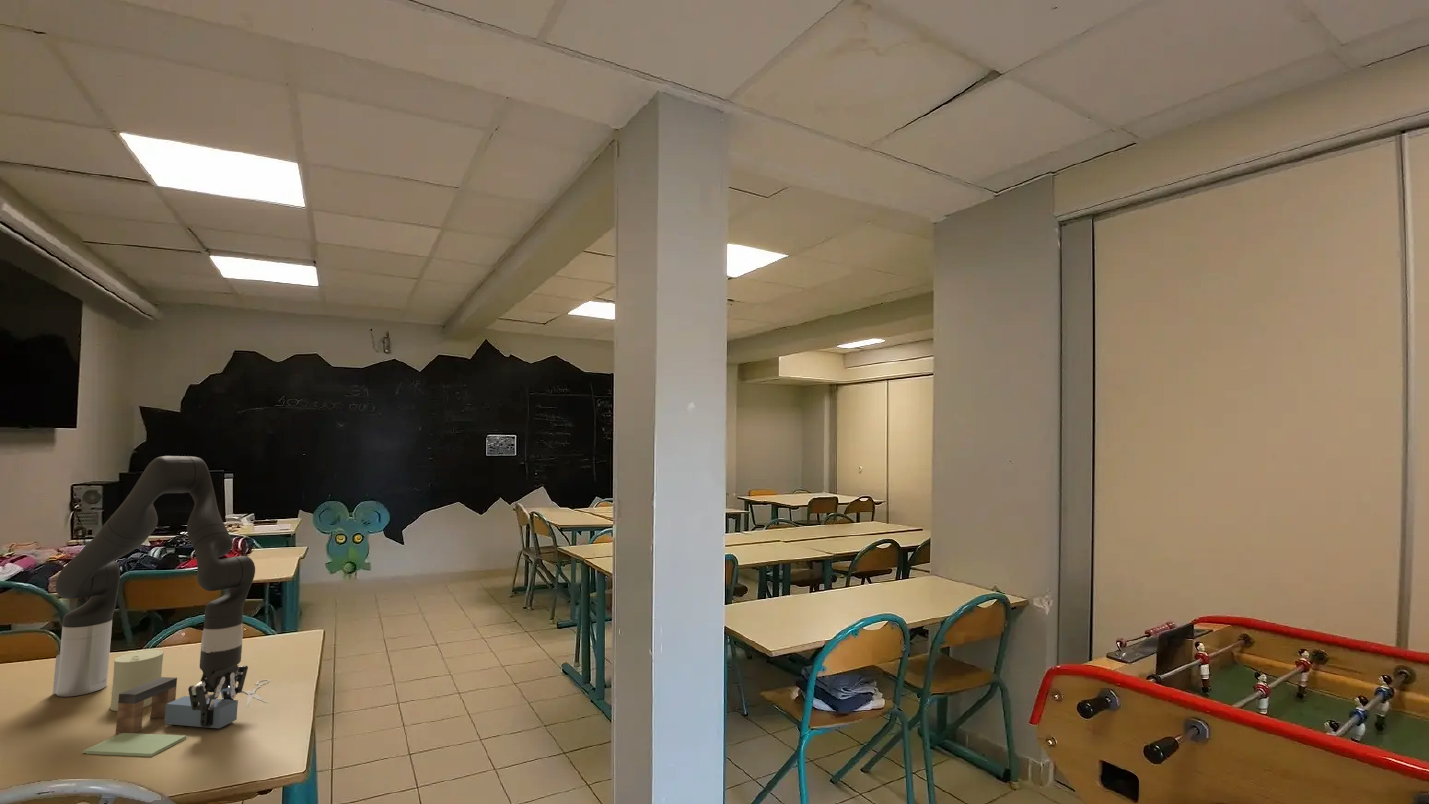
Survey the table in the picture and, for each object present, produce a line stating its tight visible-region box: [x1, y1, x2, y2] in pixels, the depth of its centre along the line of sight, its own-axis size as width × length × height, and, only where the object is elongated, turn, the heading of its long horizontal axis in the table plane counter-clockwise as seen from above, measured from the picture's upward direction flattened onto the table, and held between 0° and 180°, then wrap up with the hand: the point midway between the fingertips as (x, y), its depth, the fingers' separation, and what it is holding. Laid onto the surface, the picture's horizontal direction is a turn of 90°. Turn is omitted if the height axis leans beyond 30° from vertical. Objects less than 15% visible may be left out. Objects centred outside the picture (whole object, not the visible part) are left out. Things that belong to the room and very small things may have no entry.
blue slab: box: [164, 695, 239, 729], centre depth 142 cm, size 14×4×4 cm, turn 83°
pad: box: [82, 732, 187, 758], centre depth 132 cm, size 15×8×1 cm, turn 87°
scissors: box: [227, 679, 270, 708], centre depth 159 cm, size 11×1×20 cm
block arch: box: [115, 676, 178, 734], centre depth 142 cm, size 4×10×8 cm, turn 177°
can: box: [109, 649, 165, 712], centre depth 153 cm, size 9×9×12 cm
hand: (216, 720), depth 141 cm, fingers closed on blue slab, 4 cm apart
